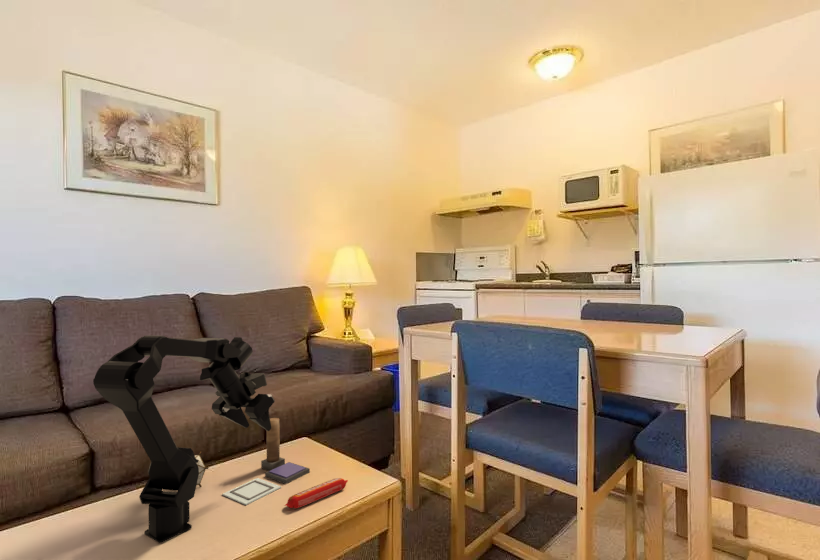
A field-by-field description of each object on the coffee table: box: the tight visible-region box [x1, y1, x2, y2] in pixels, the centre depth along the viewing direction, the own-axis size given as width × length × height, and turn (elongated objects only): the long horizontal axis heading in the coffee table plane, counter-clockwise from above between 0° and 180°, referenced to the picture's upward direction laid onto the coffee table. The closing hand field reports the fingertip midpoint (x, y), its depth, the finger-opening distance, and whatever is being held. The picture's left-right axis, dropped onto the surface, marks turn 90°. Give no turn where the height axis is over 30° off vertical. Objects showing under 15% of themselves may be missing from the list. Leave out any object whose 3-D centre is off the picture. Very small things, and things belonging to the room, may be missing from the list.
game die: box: [194, 451, 210, 488], centre depth 106 cm, size 9×8×10 cm
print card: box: [222, 477, 282, 506], centre depth 104 cm, size 10×9×1 cm
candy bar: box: [284, 477, 349, 509], centre depth 100 cm, size 16×4×3 cm, turn 136°
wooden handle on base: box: [260, 417, 286, 472], centre depth 118 cm, size 4×4×13 cm
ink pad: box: [264, 461, 311, 485], centre depth 113 cm, size 8×8×1 cm
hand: (258, 428), depth 111 cm, fingers open, 9 cm apart
